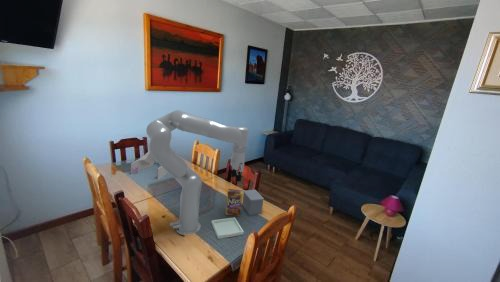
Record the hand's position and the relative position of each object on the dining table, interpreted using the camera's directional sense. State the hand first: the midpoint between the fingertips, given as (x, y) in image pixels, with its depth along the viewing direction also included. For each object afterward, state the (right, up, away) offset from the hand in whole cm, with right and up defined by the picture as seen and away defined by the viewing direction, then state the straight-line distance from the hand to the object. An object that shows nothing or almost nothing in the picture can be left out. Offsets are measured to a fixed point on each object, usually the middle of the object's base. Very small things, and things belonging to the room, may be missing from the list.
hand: (235, 178), depth 132 cm
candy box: (-2, -22, +6) cm, 23 cm away
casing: (-69, -4, +53) cm, 87 cm away
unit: (+9, -22, +12) cm, 27 cm away
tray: (-4, -25, -9) cm, 27 cm away
